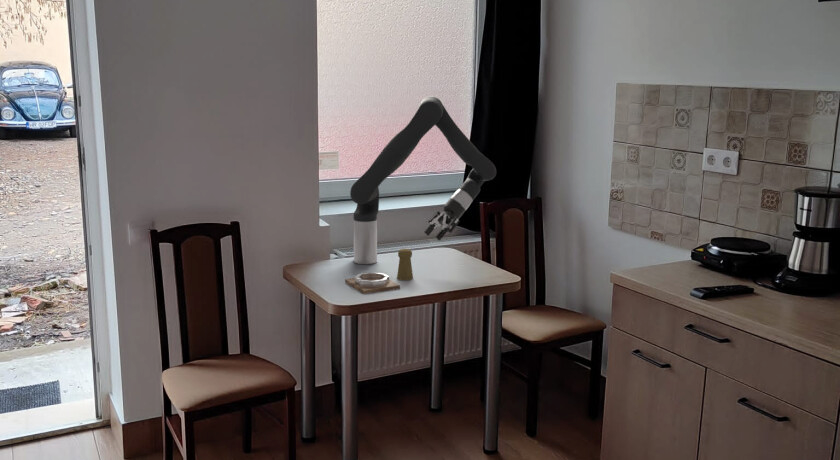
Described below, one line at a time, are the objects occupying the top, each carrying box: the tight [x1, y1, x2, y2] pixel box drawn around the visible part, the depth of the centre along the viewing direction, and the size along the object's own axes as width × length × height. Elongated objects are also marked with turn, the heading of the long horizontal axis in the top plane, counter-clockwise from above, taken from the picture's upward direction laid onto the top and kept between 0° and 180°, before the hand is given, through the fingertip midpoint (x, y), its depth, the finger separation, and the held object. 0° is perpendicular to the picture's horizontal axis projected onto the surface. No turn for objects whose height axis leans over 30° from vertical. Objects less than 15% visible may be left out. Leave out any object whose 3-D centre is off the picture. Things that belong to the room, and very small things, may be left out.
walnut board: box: [344, 277, 401, 295], centre depth 278 cm, size 16×14×1 cm
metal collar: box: [354, 271, 390, 287], centre depth 278 cm, size 11×11×2 cm
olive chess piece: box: [396, 248, 414, 281], centre depth 287 cm, size 6×6×11 cm
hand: (431, 236), depth 290 cm, fingers open, 8 cm apart
